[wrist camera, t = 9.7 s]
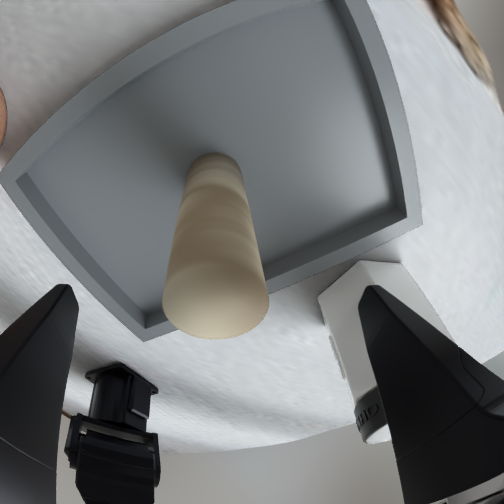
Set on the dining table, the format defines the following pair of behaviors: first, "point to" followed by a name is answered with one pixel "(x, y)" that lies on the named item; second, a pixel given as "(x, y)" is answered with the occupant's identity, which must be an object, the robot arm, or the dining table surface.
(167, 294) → the pin
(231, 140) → the tray
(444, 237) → the dining table surface
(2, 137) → the cup
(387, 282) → the jar
